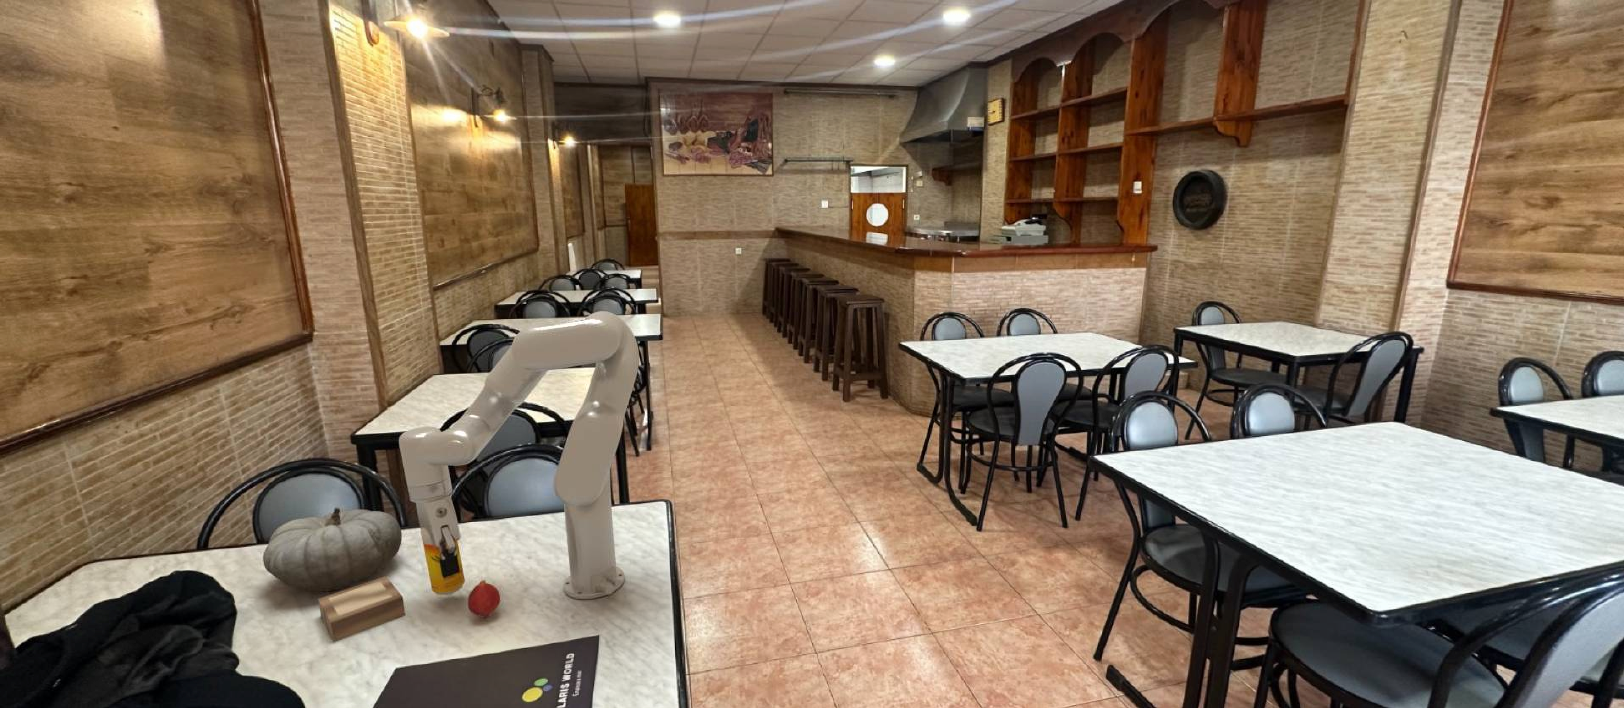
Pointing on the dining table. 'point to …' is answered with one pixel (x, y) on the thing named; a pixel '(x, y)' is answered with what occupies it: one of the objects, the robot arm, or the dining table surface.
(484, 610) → the onion
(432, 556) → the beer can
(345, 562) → the gourd
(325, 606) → the walnut plinth
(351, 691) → the dining table surface
